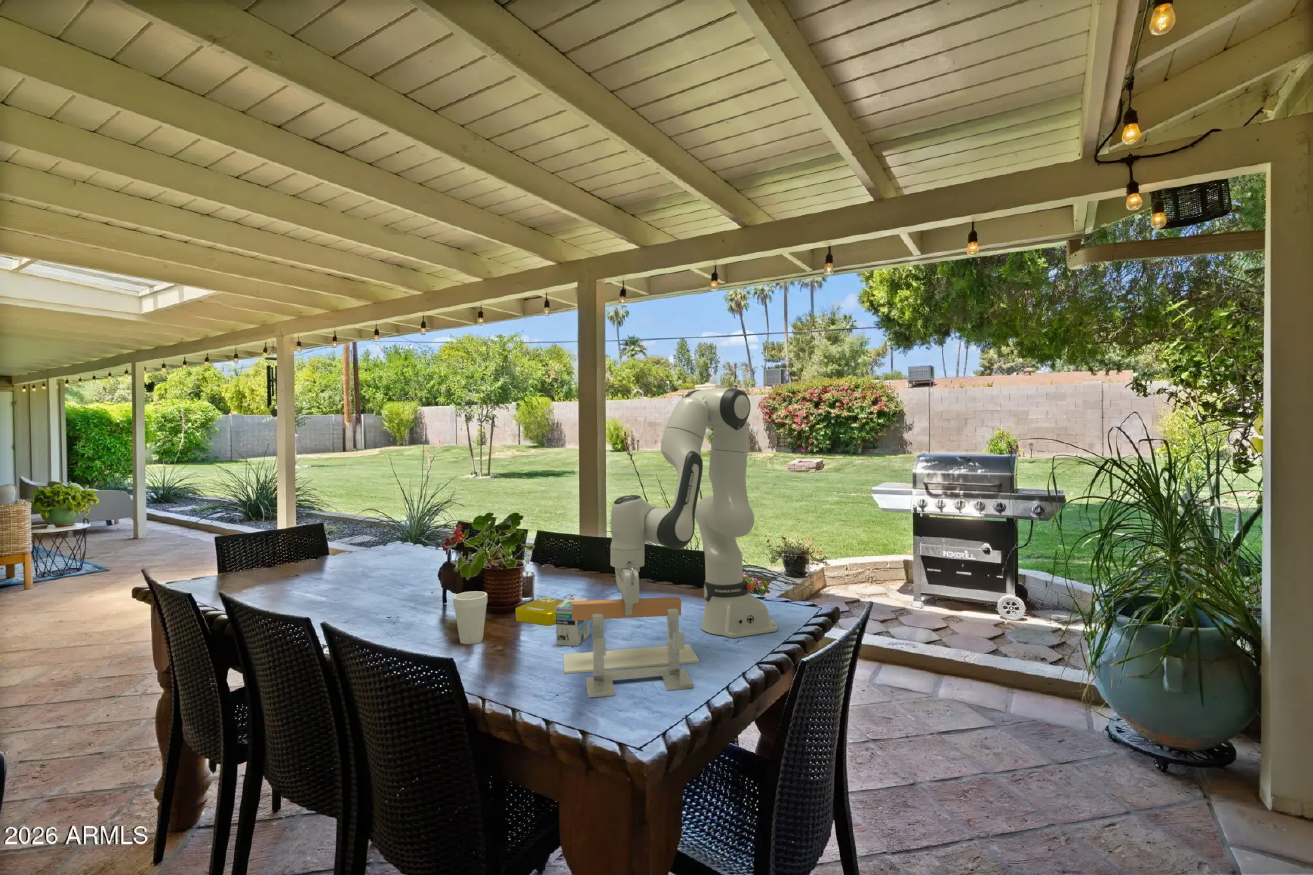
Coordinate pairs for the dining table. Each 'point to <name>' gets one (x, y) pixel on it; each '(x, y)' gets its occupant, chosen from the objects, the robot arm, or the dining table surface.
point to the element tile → (538, 612)
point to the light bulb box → (570, 625)
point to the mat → (626, 659)
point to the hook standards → (670, 674)
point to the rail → (617, 608)
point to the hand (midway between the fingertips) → (627, 611)
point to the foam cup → (470, 615)
